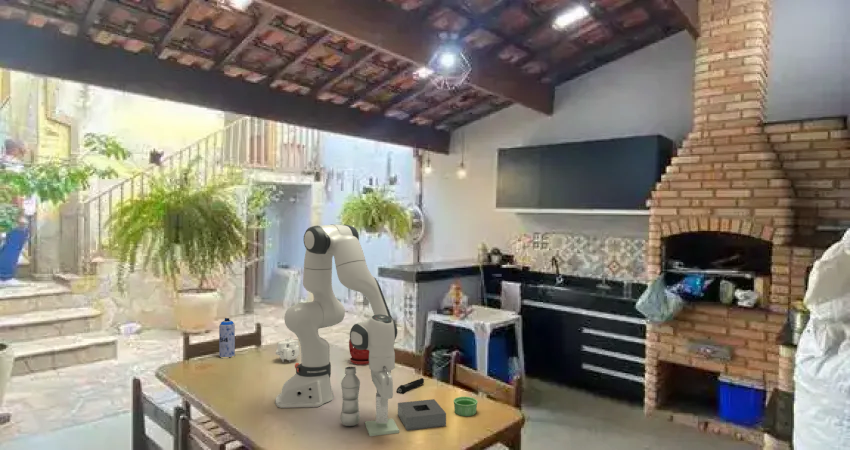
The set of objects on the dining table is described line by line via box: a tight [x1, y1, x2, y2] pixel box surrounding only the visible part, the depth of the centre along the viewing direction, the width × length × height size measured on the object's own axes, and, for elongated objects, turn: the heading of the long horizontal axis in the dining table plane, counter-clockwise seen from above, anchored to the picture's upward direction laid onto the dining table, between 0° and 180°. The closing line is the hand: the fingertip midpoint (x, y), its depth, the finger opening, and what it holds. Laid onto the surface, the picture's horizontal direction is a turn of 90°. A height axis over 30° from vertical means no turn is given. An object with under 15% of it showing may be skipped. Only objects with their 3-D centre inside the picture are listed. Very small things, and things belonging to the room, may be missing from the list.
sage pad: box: [364, 417, 400, 437], centre depth 173 cm, size 10×10×1 cm
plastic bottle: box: [340, 366, 361, 427], centre depth 176 cm, size 6×7×20 cm
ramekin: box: [453, 396, 479, 417], centre depth 188 cm, size 9×9×4 cm
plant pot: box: [348, 338, 369, 366], centre depth 251 cm, size 13×13×12 cm
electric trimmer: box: [396, 377, 425, 395], centre depth 213 cm, size 4×16×3 cm, turn 140°
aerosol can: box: [218, 317, 236, 358], centre depth 261 cm, size 8×8×20 cm
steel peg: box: [375, 392, 389, 423], centre depth 173 cm, size 4×4×9 cm
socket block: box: [397, 398, 447, 432], centre depth 180 cm, size 14×14×4 cm
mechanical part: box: [275, 336, 300, 363], centre depth 253 cm, size 11×12×12 cm
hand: (381, 403), depth 173 cm, fingers closed on steel peg, 4 cm apart
